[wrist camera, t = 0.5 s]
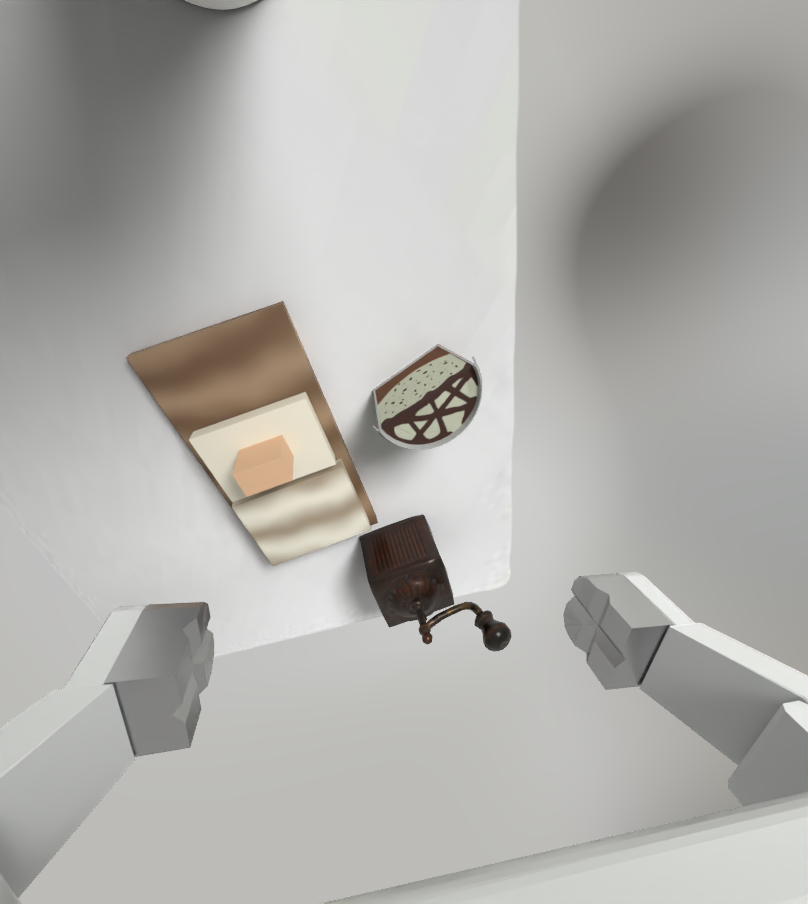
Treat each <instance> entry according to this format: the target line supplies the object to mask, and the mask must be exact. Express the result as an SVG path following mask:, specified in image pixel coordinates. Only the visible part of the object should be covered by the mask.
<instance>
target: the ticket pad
mask: <svg viewBox="0 0 808 904" xmlns="http://www.w3.org/2000/svg"><path fill="white" fill-rule="evenodd" d="M126 359H127V360H128V362H129V363H130V364H131V366H132V367H133V369H134V370H135V372H136V373H137V374H138V376H139V377H140V379H141V380H142V381H143V383H144V384H145V386H146V387H147V389H148V390H149V391H150V393H151V394H152V396H153V397H154V398H155V400H156V401H157V403H158V404H159V406H160V407H161V408H162V410H163V411H164V413H165V414H166V415H167V417H168V418H169V420H170V421H171V423H172V424H173V425H174V427H175V428H176V430H177V431H178V432H179V434H180V435H181V437H182V438H183V439H184V441H185V442H186V444H187V445H188V447H189V448H190V449H191V451H192V452H193V454H194V455H195V456H196V458H197V459H198V461H199V462H200V464H201V465H202V466H203V468H204V469H205V471H206V472H207V473H208V475H209V476H210V478H211V479H212V481H213V482H214V483H215V485H216V486H217V488H218V489H219V490H220V492H221V493H222V495H223V496H224V498H225V499H226V500H227V502H228V503H229V505H230V506H231V507H232V509H233V510H234V512H235V513H236V515H237V516H238V517H239V519H240V520H241V522H242V523H243V524H244V526H245V527H246V529H247V530H248V531H249V533H250V534H251V536H252V537H253V539H254V540H255V541H256V543H257V544H258V546H259V547H260V548H261V550H262V551H263V553H264V554H265V556H266V557H267V558H268V560H269V561H270V563H271V564H272V565H273V566H275V565H277V564H280V563H283V562H286V561H288V560H291V559H294V558H296V557H299V556H302V555H304V554H307V553H310V552H312V551H315V550H318V549H321V548H323V547H326V546H329V545H331V544H334V543H337V542H339V541H342V540H345V539H348V538H350V537H353V536H356V535H358V534H361V533H364V532H366V531H369V530H371V528H370V525H373V524H376V523H378V522H377V518H376V515H375V512H374V510H373V508H372V505H371V503H370V501H369V499H368V496H367V494H366V492H365V489H364V487H363V485H362V482H361V480H360V478H359V475H358V473H357V471H356V469H355V466H354V464H353V462H352V459H351V457H350V455H349V452H348V450H347V448H346V445H345V443H344V441H343V439H342V436H341V434H340V432H339V429H338V427H337V425H336V422H335V420H334V418H333V415H332V413H331V411H330V409H329V406H328V404H327V402H326V399H325V397H324V395H323V392H322V390H321V388H320V385H319V383H318V381H317V379H316V376H315V374H314V372H313V369H312V367H311V365H310V362H309V360H308V358H307V355H306V353H305V351H304V349H303V346H302V344H301V342H300V339H299V337H298V335H297V332H296V330H295V328H294V325H293V323H292V321H291V319H290V316H289V314H288V312H287V309H286V307H285V305H284V302H283V301H282V302H279V303H276V304H274V305H271V306H268V307H265V308H262V309H259V310H256V311H253V312H250V313H247V314H244V315H242V316H239V317H236V318H233V319H230V320H227V321H224V322H221V323H218V324H215V325H212V326H210V327H207V328H204V329H201V330H198V331H195V332H192V333H189V334H186V335H183V336H180V337H177V338H175V339H172V340H169V341H166V342H163V343H160V344H157V345H154V346H151V347H148V348H145V349H143V350H140V351H137V352H134V353H131V354H130V355H129V356H127V357H126ZM303 392H306V394H307V396H308V398H309V400H310V402H311V405H312V407H313V409H314V411H315V413H316V415H317V418H318V420H319V422H320V424H321V426H322V428H323V431H324V433H325V435H326V437H327V439H328V442H329V444H330V446H331V448H332V450H333V452H334V455H335V459H336V465H333V466H330V467H328V468H325V469H322V470H319V471H317V472H314V473H311V474H308V475H305V476H303V477H300V478H297V479H294V480H292V481H290V482H287V483H284V484H281V485H279V486H276V487H273V488H270V489H268V490H265V491H262V492H259V493H257V494H254V495H251V496H248V497H245V498H242V499H239V500H237V501H234V502H232V501H231V500H230V499H229V497H228V496H227V494H226V493H225V491H224V490H223V489H222V487H221V486H220V484H219V483H218V481H217V480H216V479H215V477H214V476H213V474H212V473H211V471H210V470H209V469H208V467H207V466H206V464H205V463H204V461H203V460H202V458H201V457H200V456H199V454H198V453H197V451H196V450H195V448H194V447H193V446H192V444H191V443H190V441H189V439H190V437H191V435H192V433H193V431H196V430H199V429H202V428H205V427H207V426H210V425H213V424H216V423H219V422H221V421H224V420H227V419H230V418H233V417H236V416H238V415H241V414H244V413H247V412H250V411H253V410H255V409H258V408H261V407H264V406H267V405H270V404H272V403H275V402H278V401H281V400H284V399H286V398H289V397H292V396H295V395H298V394H301V393H303Z"/></svg>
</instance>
